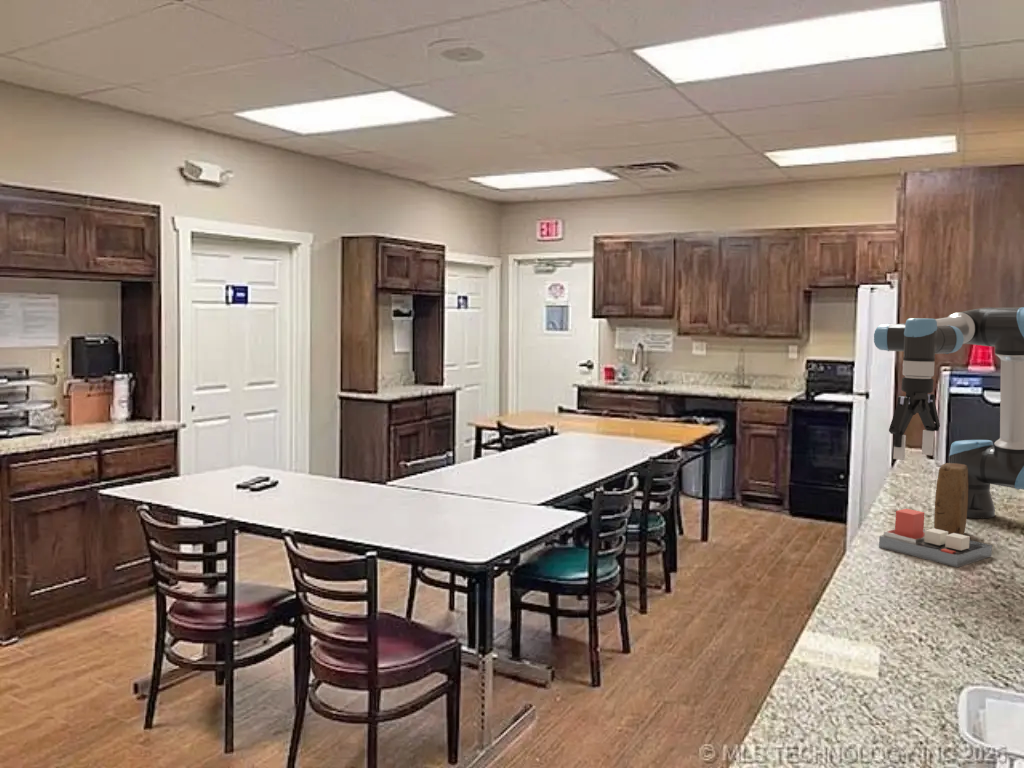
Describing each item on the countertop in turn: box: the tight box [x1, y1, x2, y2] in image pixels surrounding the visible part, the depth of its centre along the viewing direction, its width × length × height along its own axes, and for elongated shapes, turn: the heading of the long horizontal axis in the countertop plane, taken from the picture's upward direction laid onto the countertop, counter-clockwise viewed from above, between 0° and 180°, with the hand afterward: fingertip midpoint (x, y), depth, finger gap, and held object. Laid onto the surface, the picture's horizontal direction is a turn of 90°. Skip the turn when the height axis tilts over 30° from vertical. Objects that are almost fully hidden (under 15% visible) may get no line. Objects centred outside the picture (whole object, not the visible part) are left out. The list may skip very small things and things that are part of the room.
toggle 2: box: [945, 533, 971, 550], centre depth 216 cm, size 4×4×3 cm
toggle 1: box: [924, 527, 948, 545], centre depth 220 cm, size 4×4×3 cm
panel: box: [878, 528, 993, 568], centre depth 224 cm, size 17×21×4 cm
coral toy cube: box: [894, 508, 925, 539], centre depth 226 cm, size 5×5×7 cm
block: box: [933, 462, 968, 535], centre depth 242 cm, size 11×8×20 cm
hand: (913, 457), depth 225 cm, fingers open, 13 cm apart
